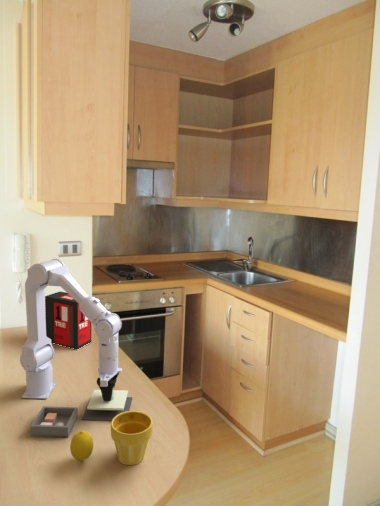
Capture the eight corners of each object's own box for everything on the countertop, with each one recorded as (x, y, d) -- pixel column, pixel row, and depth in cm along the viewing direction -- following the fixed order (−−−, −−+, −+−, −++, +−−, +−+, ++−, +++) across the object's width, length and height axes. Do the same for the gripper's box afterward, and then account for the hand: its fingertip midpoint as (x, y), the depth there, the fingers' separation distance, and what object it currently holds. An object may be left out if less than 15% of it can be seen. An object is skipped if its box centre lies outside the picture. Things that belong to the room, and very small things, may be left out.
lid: (94, 393, 133) (94, 379, 132) (127, 394, 133) (128, 380, 133) (86, 411, 123) (86, 396, 122) (123, 412, 123) (123, 397, 122)
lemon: (95, 453, 108) (95, 424, 106) (90, 468, 102) (90, 438, 101) (73, 453, 107) (73, 424, 106) (67, 467, 102) (67, 437, 101)
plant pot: (153, 469, 103) (154, 432, 101) (110, 472, 101) (110, 435, 99) (150, 442, 113) (151, 409, 111) (111, 445, 111) (111, 411, 109)
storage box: (43, 415, 123) (43, 406, 123) (77, 416, 123) (77, 407, 123) (30, 436, 114) (30, 426, 113) (68, 437, 114) (67, 427, 113)
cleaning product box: (46, 342, 177) (45, 296, 173) (60, 335, 185) (59, 291, 181) (77, 350, 170) (77, 302, 167) (91, 342, 178) (91, 297, 175)
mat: (91, 396, 135) (91, 395, 135) (132, 398, 135) (132, 397, 135) (81, 419, 122) (81, 418, 122) (126, 421, 122) (126, 420, 122)
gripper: (117, 366, 118) (117, 410, 121) (125, 346, 133) (125, 386, 135) (92, 365, 118) (92, 409, 121) (103, 345, 133) (103, 385, 135)
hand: (108, 397), depth 128 cm, fingers closed on lid, 3 cm apart
